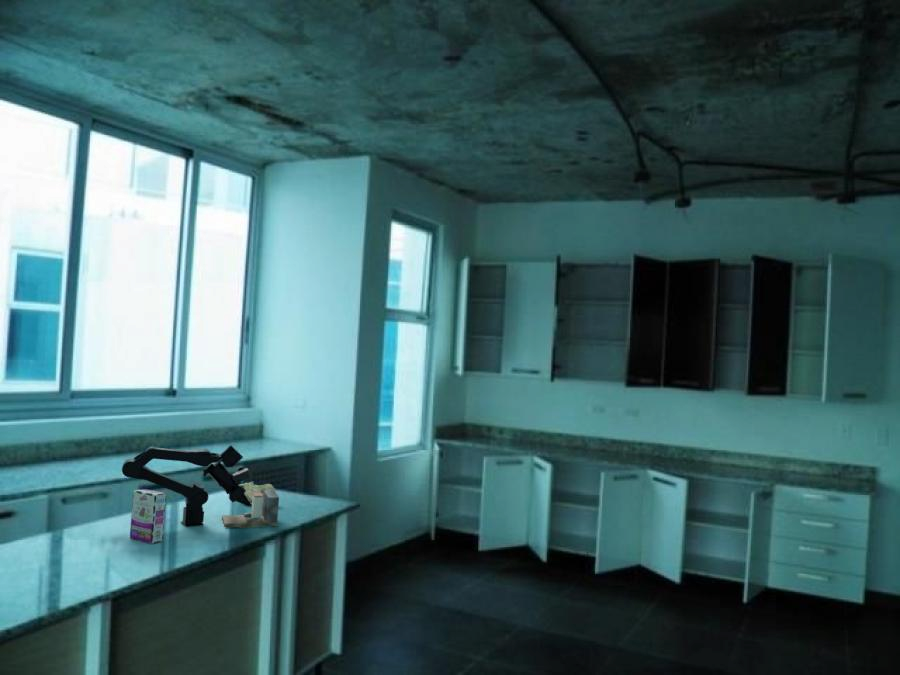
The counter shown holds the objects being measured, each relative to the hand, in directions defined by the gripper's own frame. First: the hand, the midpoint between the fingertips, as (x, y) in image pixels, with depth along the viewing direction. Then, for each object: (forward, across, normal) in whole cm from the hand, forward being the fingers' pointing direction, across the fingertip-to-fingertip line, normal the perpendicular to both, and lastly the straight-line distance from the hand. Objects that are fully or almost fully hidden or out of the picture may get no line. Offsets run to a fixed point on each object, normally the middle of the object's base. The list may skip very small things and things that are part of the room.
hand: (249, 505), depth 277 cm
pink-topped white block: (+5, 0, +2) cm, 6 cm away
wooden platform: (+5, 0, +5) cm, 7 cm away
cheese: (+9, +30, +1) cm, 31 cm away
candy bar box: (-20, -20, +30) cm, 41 cm away
